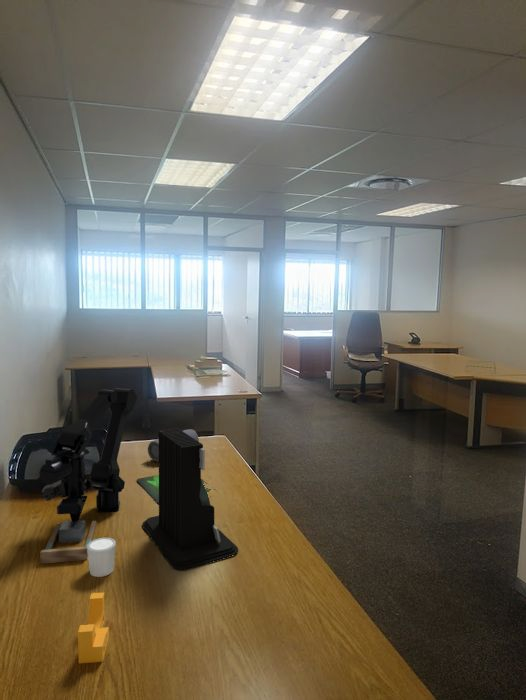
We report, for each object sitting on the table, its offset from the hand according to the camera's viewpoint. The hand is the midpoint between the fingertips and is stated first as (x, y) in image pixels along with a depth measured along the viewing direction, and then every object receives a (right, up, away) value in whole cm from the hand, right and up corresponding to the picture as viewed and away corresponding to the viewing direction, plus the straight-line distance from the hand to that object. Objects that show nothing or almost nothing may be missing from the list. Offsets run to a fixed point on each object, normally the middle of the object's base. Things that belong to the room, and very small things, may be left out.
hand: (75, 524), depth 142 cm
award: (+34, -3, -3) cm, 34 cm away
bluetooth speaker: (+17, +5, +66) cm, 68 cm away
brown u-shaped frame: (+2, -2, -8) cm, 8 cm away
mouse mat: (+24, +1, +33) cm, 41 cm away
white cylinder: (+15, -4, -21) cm, 26 cm away
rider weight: (+1, -2, -5) cm, 5 cm away
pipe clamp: (+22, -7, -45) cm, 51 cm away
